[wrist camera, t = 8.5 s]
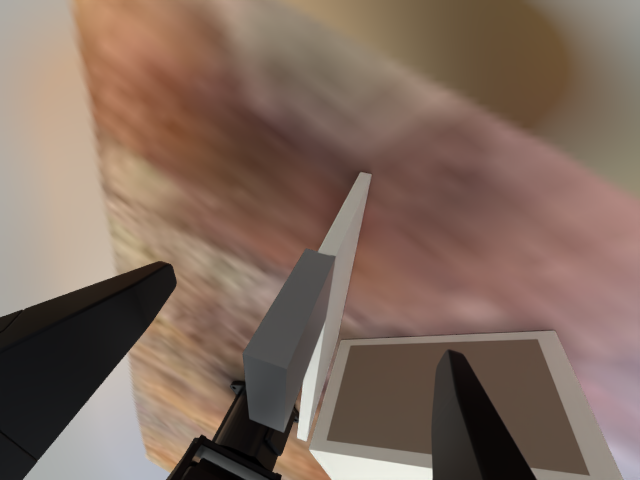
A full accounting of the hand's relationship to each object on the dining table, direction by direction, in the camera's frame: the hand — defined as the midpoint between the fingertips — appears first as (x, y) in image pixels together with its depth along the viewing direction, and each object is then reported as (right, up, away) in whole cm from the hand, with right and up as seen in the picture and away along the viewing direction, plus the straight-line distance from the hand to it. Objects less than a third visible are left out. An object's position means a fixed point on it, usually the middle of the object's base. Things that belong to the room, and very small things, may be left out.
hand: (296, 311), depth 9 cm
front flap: (+2, 0, +10) cm, 10 cm away
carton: (+11, -9, +13) cm, 19 cm away
